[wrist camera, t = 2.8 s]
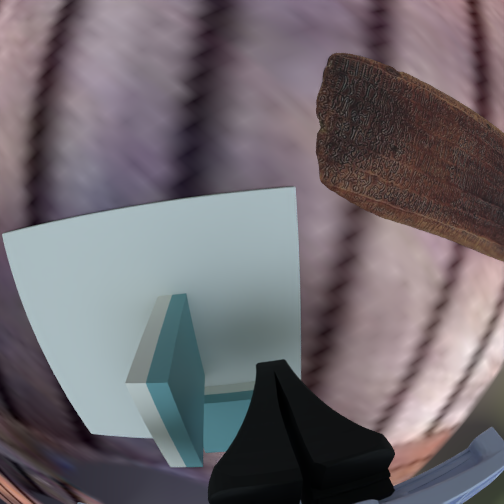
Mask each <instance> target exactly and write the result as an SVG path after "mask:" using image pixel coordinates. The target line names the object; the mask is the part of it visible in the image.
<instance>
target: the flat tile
mask: <svg viewBox="0 0 504 504" xmlns="http://www.w3.org/2000/svg"><path fill="white" fill-rule="evenodd" d="M254 385H255V381H254V382H246V383H238V384H229V385H219V386H207V387H205V390H204V428H203V447H204V450H205V452H206V453H210V452H225V451H227V450H228V448H229V446H230V445H231V443H232V442H233V440H234V439H235V437H236V435H237V433H238V431H239V429H240V427H241V425H242V423H243V421H244V418H245V416H246V413H247V411H248V408H249V405H250V402H251V398H252V395H253V390H254Z"/></svg>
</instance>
